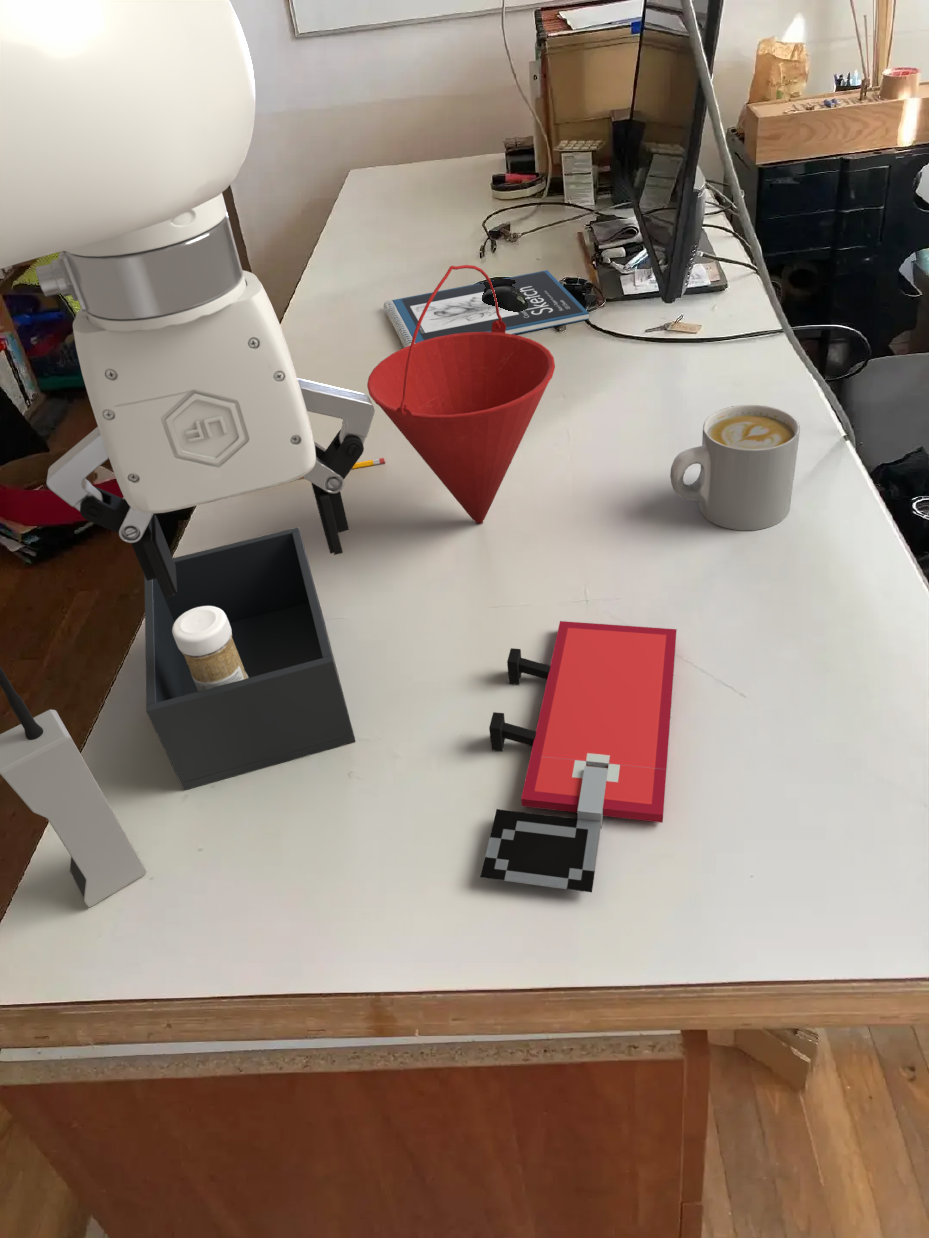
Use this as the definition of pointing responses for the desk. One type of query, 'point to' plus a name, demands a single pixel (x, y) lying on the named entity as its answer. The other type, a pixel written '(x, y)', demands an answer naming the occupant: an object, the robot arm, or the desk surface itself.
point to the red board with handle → (585, 750)
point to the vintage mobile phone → (67, 800)
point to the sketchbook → (485, 310)
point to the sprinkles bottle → (208, 647)
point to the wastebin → (245, 663)
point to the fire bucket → (465, 402)
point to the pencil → (367, 463)
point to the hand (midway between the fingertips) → (253, 562)
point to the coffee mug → (742, 467)
